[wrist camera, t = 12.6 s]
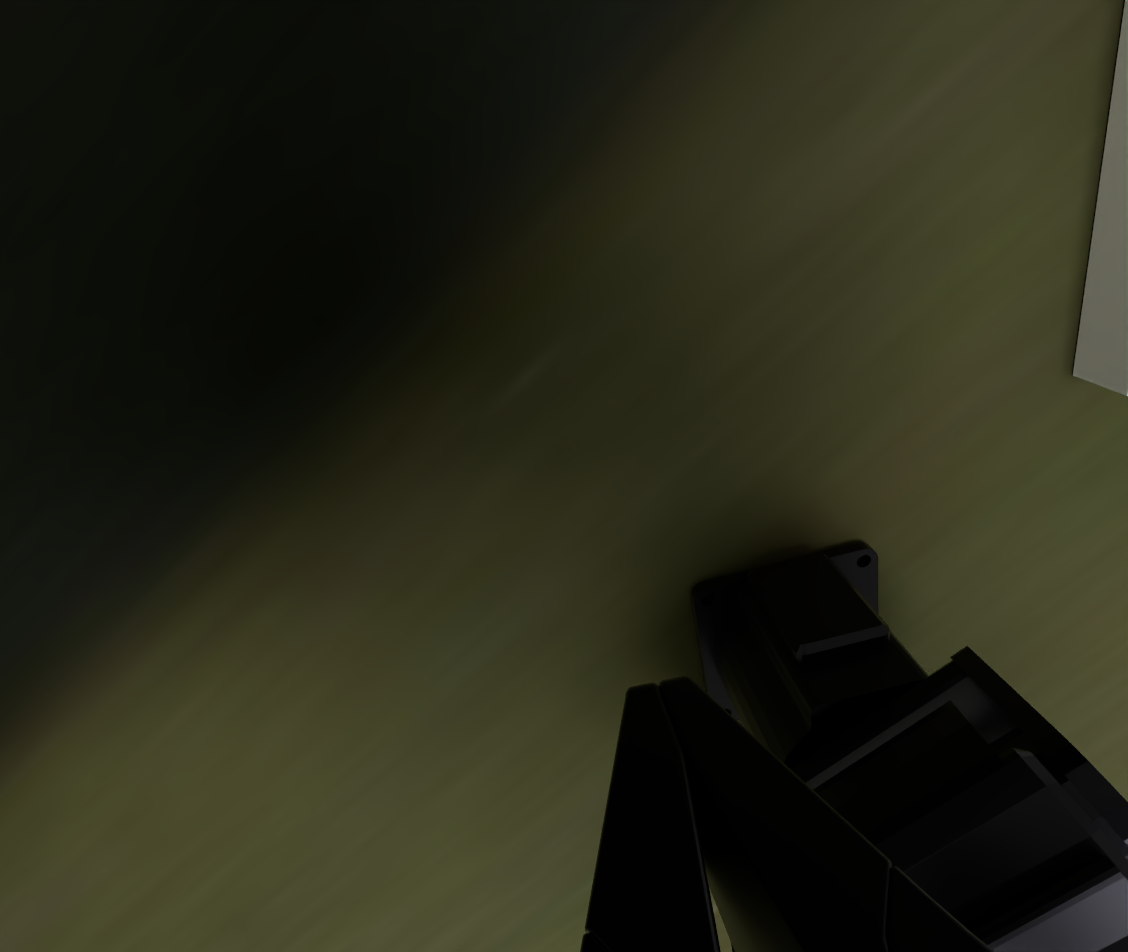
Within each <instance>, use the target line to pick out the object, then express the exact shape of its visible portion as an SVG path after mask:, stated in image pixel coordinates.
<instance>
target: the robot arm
mask: <svg viewBox="0 0 1128 952" xmlns="http://www.w3.org/2000/svg"><path fill="white" fill-rule="evenodd" d="M863 555H864V557H863V558H862V559H861V560H859V561H857V560H858V559H859V557H861V556H863ZM706 594H711V595H710V597H708V598H706V599H701V598H702V597H703V596H704V595H706ZM691 602H692V608H693V614H694V621H695V627H696V633H697V639H698V645H699V651H700V658H701V664H702V670H703V676H704V682H705V689H706V692H705V691H704V690H703V689H702V688H701V687H700V686H698V685H697V684H696V683H695V682H694V681H693V680H692V679H691V678H689V677H686V676H682V677H677V678H672V679H668V680H663V681H661V682H660V683H659V685H657V684H655V683H648V684H643V685H638V686H634V687H630V688H629V689H628V690H627V692H626V697H625V703H624V708H623V714H622V720H621V725H620V731H619V737H618V742H617V748H616V754H615V759H614V765H613V771H612V777H611V782H610V788H609V794H608V799H607V805H606V811H605V816H604V822H603V828H602V833H601V839H600V845H599V850H598V856H597V862H596V868H595V873H594V879H593V885H592V890H591V896H590V902H589V907H588V913H587V919H586V924H585V931H586V934H584V935H583V939H582V945H581V950H580V952H720V946H719V940H718V935H717V929H716V924H715V918H714V913H713V907H712V902H711V896H710V890H711V892H712V895H713V897H714V900H715V902H716V905H717V907H718V910H719V913H720V915H721V918H722V920H723V923H724V925H725V928H726V930H727V933H728V935H729V938H730V941H731V945H732V952H1128V802H1127V801H1126V800H1125V799H1124V798H1123V797H1122V796H1121V795H1120V794H1119V793H1118V791H1117V790H1116V789H1115V788H1114V787H1113V786H1112V785H1111V784H1110V783H1109V782H1108V781H1107V780H1106V779H1105V778H1104V777H1103V776H1102V775H1101V774H1100V773H1099V772H1098V771H1097V769H1096V768H1095V767H1094V766H1093V765H1092V764H1091V763H1090V762H1089V761H1088V760H1087V759H1086V758H1085V757H1084V756H1083V755H1082V754H1081V753H1080V752H1079V751H1078V750H1077V749H1076V748H1075V747H1074V746H1073V745H1072V744H1071V743H1070V742H1069V741H1068V740H1067V739H1066V738H1065V737H1064V736H1063V735H1062V734H1061V733H1059V732H1058V731H1057V730H1056V729H1055V728H1054V727H1053V726H1052V725H1051V724H1050V723H1049V722H1048V721H1047V720H1046V719H1045V718H1044V717H1043V716H1041V715H1040V714H1039V713H1038V712H1037V711H1036V710H1035V709H1034V708H1033V707H1032V706H1031V705H1030V704H1029V703H1028V702H1027V701H1025V700H1024V699H1023V698H1022V697H1021V696H1020V695H1019V694H1018V693H1017V692H1016V691H1015V690H1014V689H1013V688H1012V687H1011V686H1009V685H1008V684H1007V683H1006V682H1005V681H1004V680H1003V679H1002V678H1001V677H1000V676H999V675H998V674H997V673H996V672H995V671H993V670H992V669H991V668H990V667H989V666H988V665H987V664H986V663H985V662H984V661H983V660H982V659H981V658H980V657H979V656H977V655H976V654H975V653H974V652H973V651H972V650H971V649H970V648H969V647H968V646H966V647H965V648H963V649H962V650H960V651H959V652H957V653H956V654H954V655H953V656H951V657H950V658H951V659H952V661H951V662H949V663H948V664H946V665H945V666H943V667H942V668H940V669H939V670H937V671H936V672H934V673H933V674H931V675H930V676H928V674H927V673H926V672H925V671H924V670H923V669H922V667H921V666H920V665H919V664H918V663H917V662H916V660H915V659H914V658H913V657H912V656H911V655H910V653H909V652H908V651H907V650H906V649H905V648H904V646H903V645H902V644H901V643H900V642H899V641H898V639H897V638H896V637H895V636H894V635H893V634H892V632H891V631H890V629H889V627H888V625H887V624H886V623H885V622H884V621H883V619H882V618H881V617H880V616H879V615H878V556H877V553H876V552H875V551H874V550H873V549H872V548H871V547H870V546H869V545H868V544H866V543H856V544H852V545H848V546H844V547H840V548H836V549H832V550H828V551H824V552H820V553H816V554H812V555H808V556H804V557H800V558H796V559H792V560H788V561H784V562H780V563H776V564H772V565H768V566H764V567H760V568H756V569H752V570H748V571H744V572H740V573H736V574H731V575H727V576H723V577H719V578H715V579H711V580H707V581H703V582H701V583H698V584H697V585H696V586H695V587H693V589H692V591H691ZM737 720H740V722H741V724H742V725H741V724H740V723H739V722H738V721H737ZM709 887H710V890H709Z"/></svg>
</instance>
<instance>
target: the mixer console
mask: <svg viewBox="0 0 1128 952" xmlns="http://www.w3.org/2000/svg"><path fill="white" fill-rule="evenodd" d="M1073 376H1076V377H1078V378H1081V379H1083V380H1086V381H1089V382H1091V383H1094V384H1097V385H1099V386H1102V387H1105V388H1107V389H1110V390H1112V391H1115V392H1118V393H1120V394H1123V395H1126V396H1128V0H1125V5H1124V12H1123V19H1122V27H1121V34H1120V41H1119V48H1118V55H1117V62H1116V69H1115V77H1114V84H1113V91H1112V98H1111V105H1110V112H1109V120H1108V127H1107V134H1106V141H1105V148H1104V155H1103V163H1102V170H1101V177H1100V184H1099V191H1098V198H1097V206H1096V213H1095V220H1094V227H1093V234H1092V241H1091V248H1090V256H1089V263H1088V270H1087V277H1086V284H1085V291H1084V299H1083V306H1082V313H1081V320H1080V327H1079V334H1078V342H1077V349H1076V356H1075V363H1074V370H1073Z"/></svg>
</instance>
